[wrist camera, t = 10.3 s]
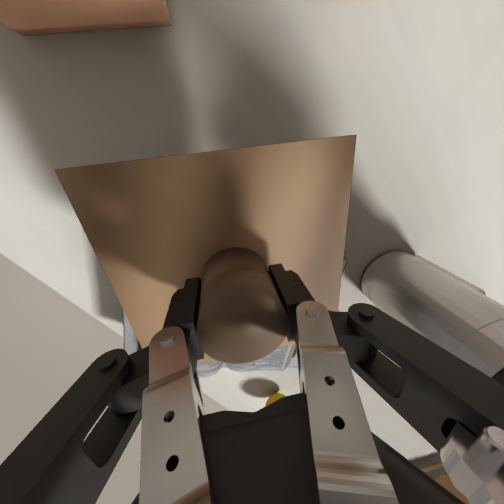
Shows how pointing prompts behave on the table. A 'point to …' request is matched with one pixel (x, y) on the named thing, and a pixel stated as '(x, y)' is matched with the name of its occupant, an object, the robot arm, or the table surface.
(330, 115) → the table surface
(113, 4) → the dish
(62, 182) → the lid
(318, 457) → the robot arm
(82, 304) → the table surface
